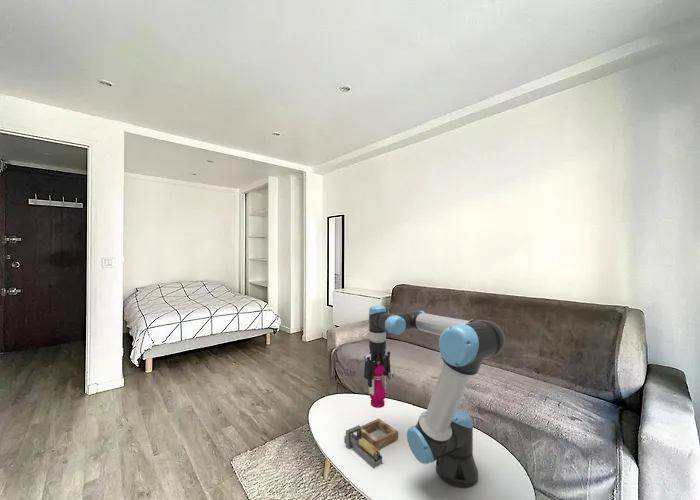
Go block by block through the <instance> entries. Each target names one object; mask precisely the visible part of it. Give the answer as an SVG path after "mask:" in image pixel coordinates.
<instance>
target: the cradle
mask: <svg viewBox="0 0 700 500" xmlns="http://www.w3.org/2000/svg"><path fill="white" fill-rule="evenodd" d="M360 426H361V428H362V438H364V439H365V440H367V441H368V442H369V443H370V444H372V445H373V446H374V447H376V448H377V449H378V450H382V449H383V448H386V447H387V446H389V445H392V444H394V443H396V442H397V441H399V431H398V430H397V429H396V428H394V427H393V426H391V425H390V424H389V423H386V422H385V421H383V420H382V419H381V418H377V419H374V420H372V421H370V422H367V423H365V424H362V425H360ZM378 430H379V431H380V432H382V433H384V435H382V436H380V437H375V436H373V435H372V433H374V432H376V431H378Z"/></svg>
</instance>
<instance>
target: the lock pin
mask: <svg viewBox="0 0 700 500" xmlns="http://www.w3.org/2000/svg"><path fill="white" fill-rule="evenodd" d="M359 447H360V448H361V449H362V450H363V451H365V452H366V453H367V454H368V455H369V456H371V457H372V458H373V459H374V460H375V459H376V460H378V459H379V458H380V455H381V452H380V451H379V450H378V449H377V448H376V447H374V446H373V445H372V444H370V443H369V442H368V441H367V440H365V439H364V438H361V439H359Z"/></svg>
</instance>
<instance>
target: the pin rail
mask: <svg viewBox="0 0 700 500" xmlns="http://www.w3.org/2000/svg"><path fill="white" fill-rule="evenodd" d="M361 426H362V425H360V424H358V425H355V426H354V427H351V428H349V429H347V430H345V435H343V437H344V443H345V448H346V449H348V450H350V449H351V450H352V451H354V452H355V453H356V454H357V455H358V456H359V457H361V458H362V459H363V460H364V461H365V462H366V463H367V464H369V465H370V466H371V467H372V468H373V469H374V468H377V467H378V466H380V465H383V456H382V455H381V454H380V458H379V459H378V460H376V459H375V460H374V459H373V458H372V457H371V456H369V455H368V454H367V453H366V452H365V451H363V450H362V449H361V448H360V447H359V439H361V438H362V428H361ZM355 433H356V434H355Z"/></svg>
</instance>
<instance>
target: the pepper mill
mask: <svg viewBox="0 0 700 500" xmlns="http://www.w3.org/2000/svg"><path fill="white" fill-rule="evenodd" d="M383 373H384V367H383V365H382V364H380V363H379V361H378V362H377V365H376V367H375V371H374V375H373V380H374V395H372V394H370V393H369V398H370V406H371V407H373V408H375V409H380V408H384V407H385V403H386V402H385V399H386V396H387V395H386V390H384V388H383V385H382V379H383Z"/></svg>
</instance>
